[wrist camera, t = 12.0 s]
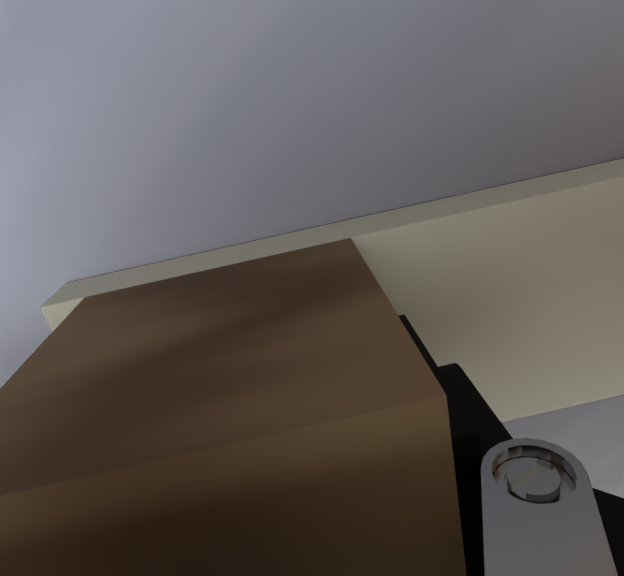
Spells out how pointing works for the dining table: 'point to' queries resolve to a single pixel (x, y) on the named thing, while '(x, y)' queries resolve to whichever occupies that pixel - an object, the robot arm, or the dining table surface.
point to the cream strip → (478, 283)
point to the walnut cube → (231, 432)
